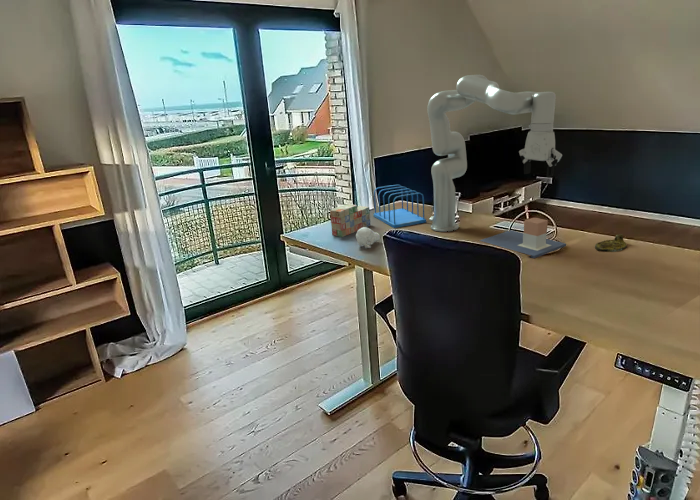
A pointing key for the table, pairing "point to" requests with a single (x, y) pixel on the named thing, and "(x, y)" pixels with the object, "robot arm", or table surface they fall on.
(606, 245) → the seal
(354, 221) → the stack of blocks
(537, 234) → the top block
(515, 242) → the board
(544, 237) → the base block
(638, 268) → the table surface
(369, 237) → the white animal figurine
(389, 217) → the file sorter
